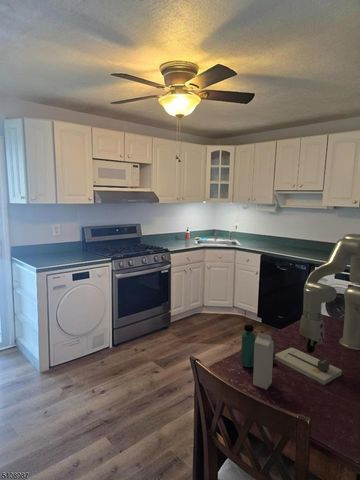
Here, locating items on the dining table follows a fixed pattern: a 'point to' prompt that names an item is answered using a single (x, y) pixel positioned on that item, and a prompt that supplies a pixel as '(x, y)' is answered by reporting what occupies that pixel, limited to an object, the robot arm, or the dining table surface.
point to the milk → (263, 361)
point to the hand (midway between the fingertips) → (310, 351)
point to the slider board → (307, 365)
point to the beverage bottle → (248, 346)
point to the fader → (323, 365)
